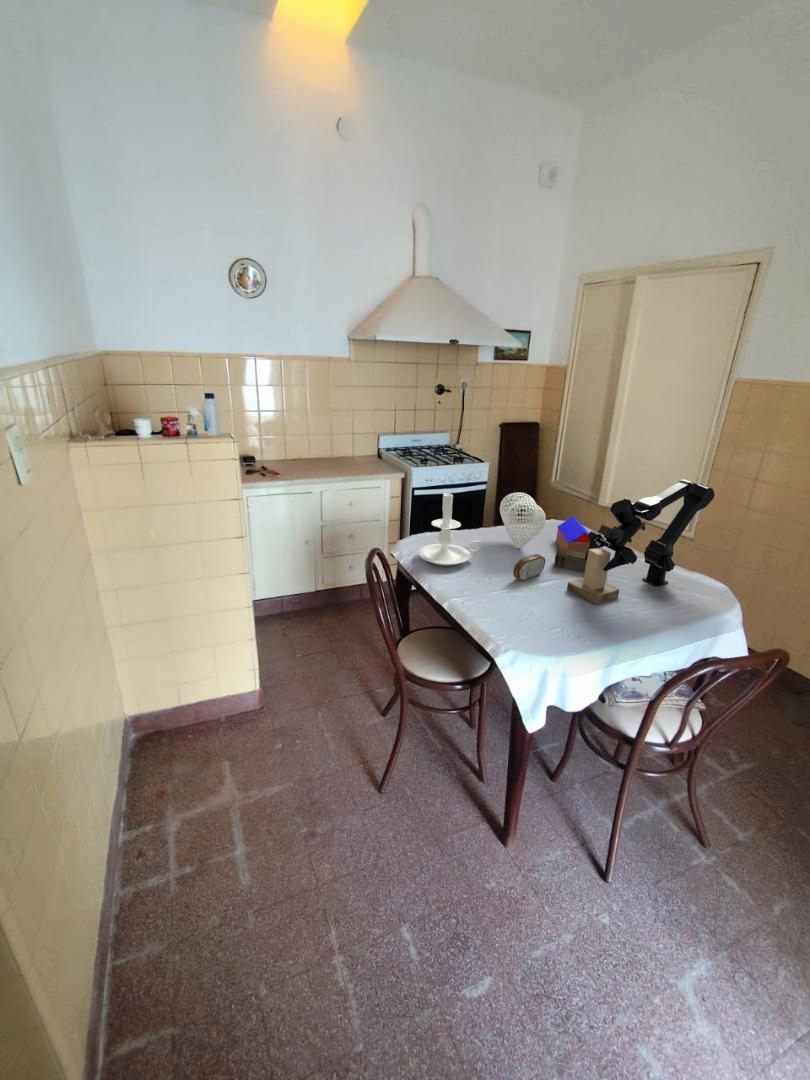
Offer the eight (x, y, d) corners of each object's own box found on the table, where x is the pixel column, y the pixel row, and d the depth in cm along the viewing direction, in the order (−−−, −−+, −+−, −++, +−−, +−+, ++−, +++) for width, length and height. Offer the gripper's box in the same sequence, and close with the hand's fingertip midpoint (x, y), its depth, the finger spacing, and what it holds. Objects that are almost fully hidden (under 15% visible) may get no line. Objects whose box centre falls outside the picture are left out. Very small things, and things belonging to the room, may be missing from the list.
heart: (493, 535, 222) (498, 488, 214) (528, 536, 222) (533, 489, 214) (506, 560, 196) (512, 507, 188) (544, 561, 196) (552, 508, 188)
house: (566, 558, 200) (570, 531, 196) (555, 540, 219) (558, 515, 215) (595, 559, 200) (600, 533, 196) (582, 541, 218) (586, 517, 214)
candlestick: (485, 571, 186) (492, 500, 176) (420, 571, 185) (423, 500, 174) (475, 550, 205) (480, 485, 195) (416, 550, 204) (418, 485, 193)
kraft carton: (594, 581, 173) (600, 547, 168) (604, 587, 169) (611, 553, 164) (582, 583, 172) (588, 549, 167) (592, 589, 167) (599, 554, 162)
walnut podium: (590, 583, 179) (591, 575, 178) (618, 597, 169) (619, 589, 168) (566, 589, 173) (568, 582, 172) (594, 604, 164) (595, 596, 163)
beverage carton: (606, 576, 185) (609, 560, 183) (553, 568, 191) (555, 553, 188) (605, 568, 192) (608, 553, 190) (554, 561, 198) (556, 545, 195)
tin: (538, 571, 188) (541, 550, 185) (545, 574, 185) (548, 553, 182) (511, 580, 179) (513, 559, 176) (518, 584, 177) (520, 562, 174)
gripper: (595, 508, 171) (565, 541, 171) (637, 526, 155) (603, 562, 155) (609, 527, 176) (580, 559, 176) (651, 546, 160) (618, 581, 160)
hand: (594, 565), depth 167 cm, fingers open, 9 cm apart
